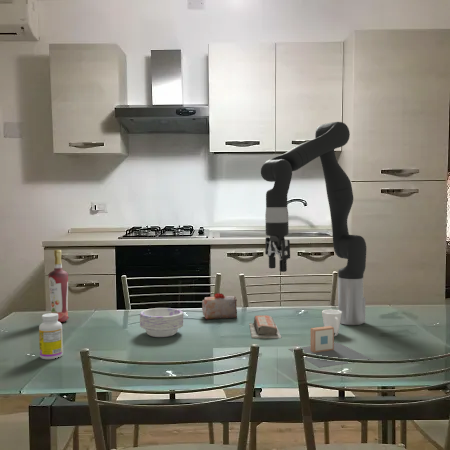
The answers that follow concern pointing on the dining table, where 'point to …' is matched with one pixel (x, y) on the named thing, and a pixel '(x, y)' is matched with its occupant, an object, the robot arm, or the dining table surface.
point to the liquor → (59, 289)
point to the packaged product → (264, 327)
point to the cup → (332, 319)
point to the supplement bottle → (50, 337)
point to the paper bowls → (161, 321)
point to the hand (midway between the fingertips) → (277, 269)
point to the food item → (219, 307)
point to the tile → (322, 339)
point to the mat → (334, 355)
